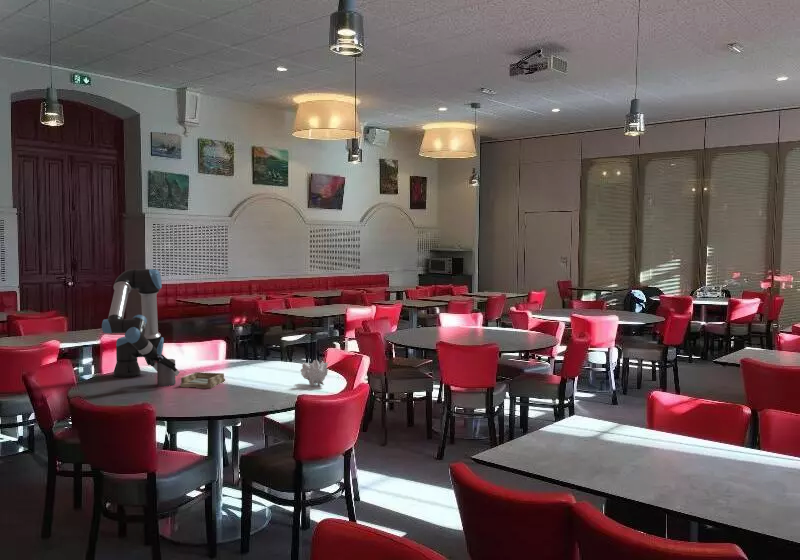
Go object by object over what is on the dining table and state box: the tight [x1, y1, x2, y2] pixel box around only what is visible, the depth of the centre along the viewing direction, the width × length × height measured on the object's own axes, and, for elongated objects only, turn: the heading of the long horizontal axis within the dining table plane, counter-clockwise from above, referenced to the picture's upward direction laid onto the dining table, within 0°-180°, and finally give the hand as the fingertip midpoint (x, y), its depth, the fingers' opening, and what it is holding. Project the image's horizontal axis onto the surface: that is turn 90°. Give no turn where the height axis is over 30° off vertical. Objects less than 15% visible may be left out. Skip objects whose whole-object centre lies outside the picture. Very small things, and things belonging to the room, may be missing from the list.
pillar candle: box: [156, 358, 177, 387], centre depth 372 cm, size 10×10×15 cm
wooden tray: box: [179, 372, 226, 389], centre depth 373 cm, size 18×18×5 cm
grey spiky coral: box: [300, 358, 329, 387], centre depth 373 cm, size 20×17×15 cm
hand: (169, 372), depth 374 cm, fingers open, 13 cm apart
